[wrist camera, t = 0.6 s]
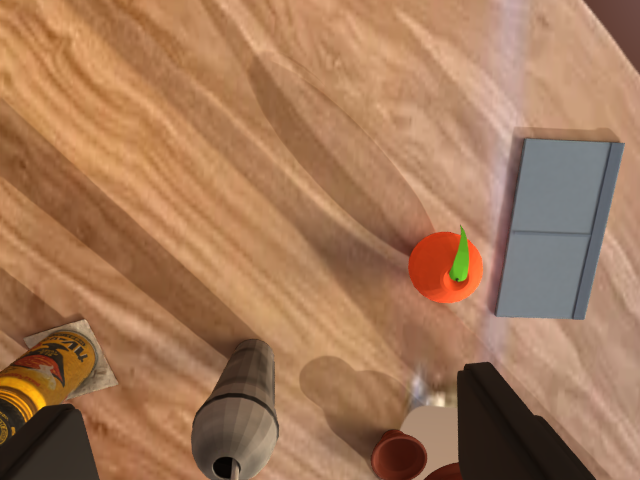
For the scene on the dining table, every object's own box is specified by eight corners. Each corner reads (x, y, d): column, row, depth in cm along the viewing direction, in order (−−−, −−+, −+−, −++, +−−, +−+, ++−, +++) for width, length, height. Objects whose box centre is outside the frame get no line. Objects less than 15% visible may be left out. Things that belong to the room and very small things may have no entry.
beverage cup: (226, 322, 43) (160, 471, 24) (291, 333, 44) (278, 488, 25) (217, 380, 45) (148, 562, 26) (280, 390, 46) (259, 576, 26)
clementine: (411, 210, 41) (432, 224, 34) (476, 220, 41) (509, 237, 34) (395, 282, 43) (411, 310, 36) (456, 292, 43) (485, 321, 36)
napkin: (524, 138, 39) (526, 138, 39) (622, 143, 40) (626, 143, 39) (494, 315, 44) (496, 317, 44) (582, 317, 44) (585, 319, 44)
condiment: (86, 318, 43) (3, 385, 31) (119, 383, 45) (53, 469, 33) (24, 337, 43) (-81, 410, 32) (60, 401, 45) (-26, 492, 34)
